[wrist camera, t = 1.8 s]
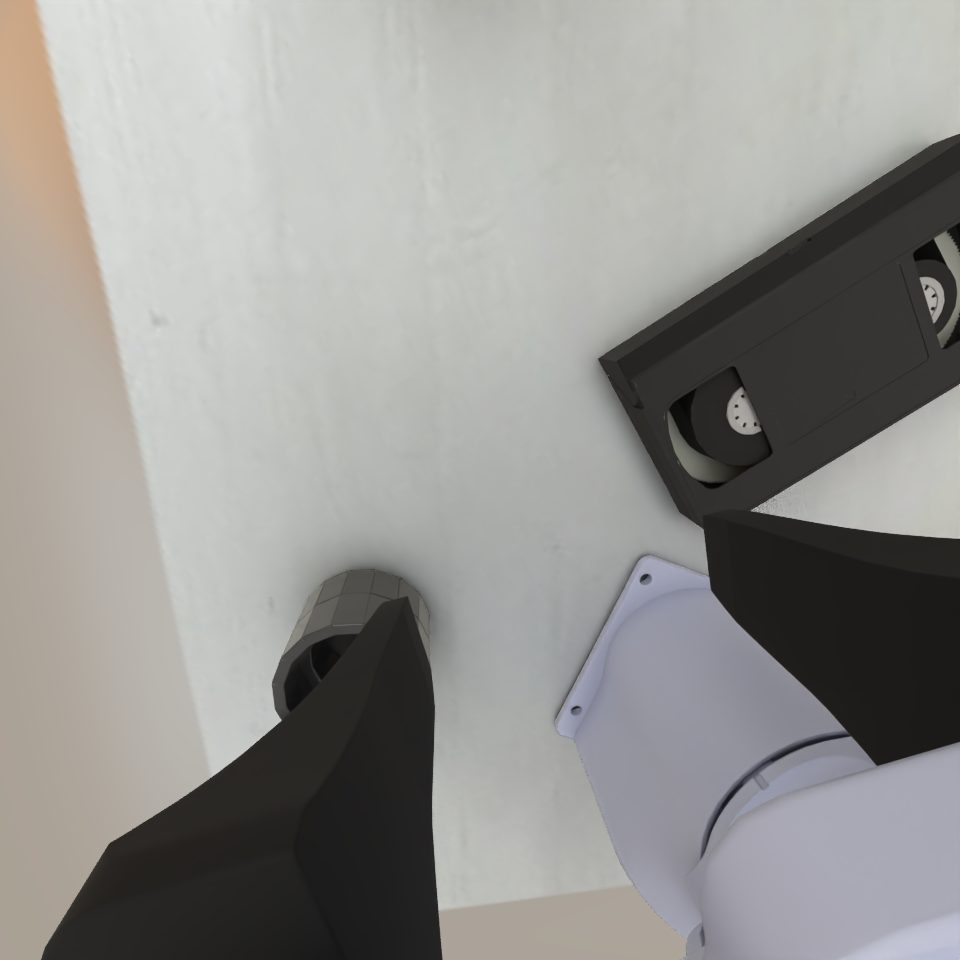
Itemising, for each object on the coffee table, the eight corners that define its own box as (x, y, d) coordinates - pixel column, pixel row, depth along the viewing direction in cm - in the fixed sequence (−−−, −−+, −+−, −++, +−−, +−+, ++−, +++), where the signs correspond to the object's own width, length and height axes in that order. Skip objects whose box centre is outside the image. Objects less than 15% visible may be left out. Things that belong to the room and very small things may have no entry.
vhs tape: (683, 519, 21) (708, 537, 19) (597, 358, 19) (616, 360, 17) (985, 335, 20) (1042, 334, 19) (932, 144, 18) (992, 121, 16)
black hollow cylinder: (404, 686, 22) (399, 769, 18) (288, 653, 21) (253, 734, 17) (447, 586, 21) (453, 649, 17) (327, 546, 20) (299, 604, 16)
